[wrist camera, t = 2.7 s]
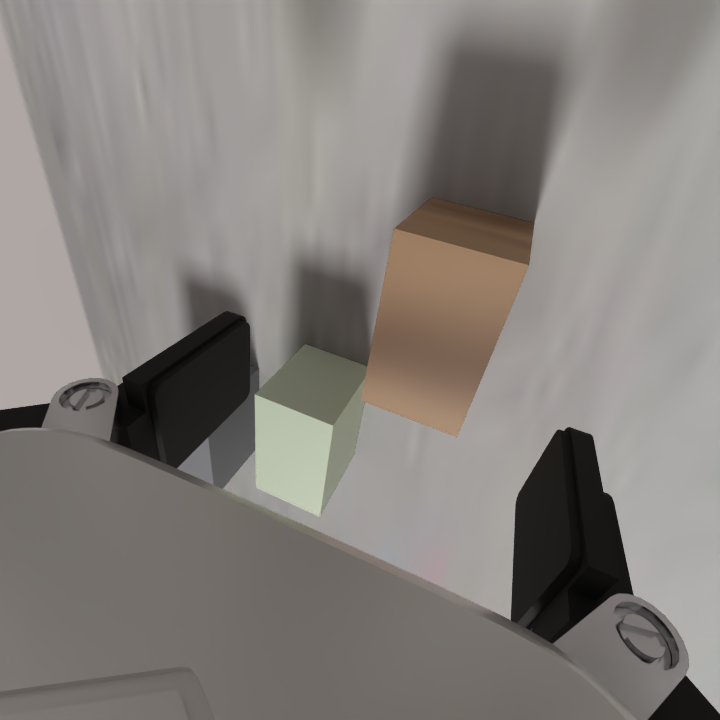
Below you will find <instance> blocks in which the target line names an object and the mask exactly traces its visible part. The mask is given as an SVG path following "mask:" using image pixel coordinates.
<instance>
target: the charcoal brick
mask: <svg viewBox="0 0 720 720" xmlns="http://www.w3.org/2000/svg"><path fill="white" fill-rule="evenodd" d="M258 391H259V368H256V367H254V366H251V365H250V392H249V395H248V397H247V399H246V400H245V401H244V402H243V403H242V404H241V405H240V406H239V407H238V408H237V409H236V410H235V411H234V412H233V413H232V414H231V415H230V416H229V417H228V418H227V419H226V420H225V421H224V422H223V423H222V424H221V425H220V426H219V427H218V428H217V429H216V430H215V431H214V432H213V433H212V434H211V435H210V436H209V437H208V438H207V439H206V440H205V441H204V442H203V443H202V444H201V445H200V446H199V447H198V448H197V449H196V450H195V451H194V452H193V453H192V454H191V455H190V456H189V457H188V458H187V459H186V460H185V461H184V462H183V463H182V464H181V465H180V466H179V467H178V468H177V469H179V470H181V471H183V472H185V473H188V474H190V475H192V476H195V477H197V478H199V479H201V480H204V481H206V482H208V483H211V484H213V485H215V486H217V487H220V488H222V489H223V488H224V486H225V485H226V484H227V483H228V482H229V480H230V479H231V478H232V477H233V476H234V475H235V473H236V472H237V471H238V470H239V469H240V467H241V466H242V465H243V464H244V463H245V461H246V460H247V459H248V458H249V457H250V455H251V454H252V453H253V452H254V451H255V394H256V393H257V392H258Z"/></svg>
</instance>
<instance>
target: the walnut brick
mask: <svg viewBox="0 0 720 720" xmlns="http://www.w3.org/2000/svg"><path fill="white" fill-rule="evenodd" d="M533 229H534V223H532V222H528V221H524V220H520V219H516V218H512V217H508V216H504V215H500V214H496V213H492V212H488V211H484V210H480V209H476V208H472V207H468V206H464V205H460V204H456V203H452V202H448V201H444V200H440V199H436V198H431V199H429V200H428V201H427V202H426V203H425V204H423V205H422V206H421V207H420V208H418V209H417V210H416V211H415V212H414V213H412V214H411V215H410V216H409V217H408V218H406V219H405V220H404V221H403V222H402V223H400V224H399V225H398V226H397V227H395V228H394V232H393V237H392V242H391V248H390V253H389V258H388V263H387V268H386V273H385V278H384V283H383V288H382V294H381V299H380V304H379V309H378V314H377V319H376V324H375V329H374V335H373V340H372V345H371V350H370V355H369V360H368V365H367V370H366V376H365V381H364V386H363V391H362V396H361V401H364V402H366V403H369V404H371V405H374V406H377V407H379V408H382V409H384V410H387V411H390V412H392V413H395V414H398V415H400V416H403V417H405V418H408V419H411V420H413V421H416V422H418V423H421V424H424V425H426V426H429V427H432V428H434V429H437V430H439V431H442V432H445V433H447V434H450V435H452V436H455V437H457V436H458V434H459V431H460V429H461V427H462V424H463V422H464V419H465V417H466V415H467V412H468V410H469V407H470V405H471V403H472V400H473V398H474V395H475V393H476V391H477V388H478V386H479V384H480V381H481V379H482V376H483V374H484V372H485V369H486V367H487V364H488V362H489V360H490V357H491V355H492V352H493V350H494V348H495V345H496V343H497V340H498V338H499V336H500V333H501V331H502V328H503V326H504V324H505V321H506V319H507V316H508V314H509V312H510V309H511V307H512V305H513V302H514V300H515V297H516V295H517V293H518V290H519V288H520V285H521V283H522V281H523V278H524V276H525V273H526V271H527V269H528V266H529V261H530V253H531V245H532V237H533Z"/></svg>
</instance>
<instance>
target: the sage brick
mask: <svg viewBox="0 0 720 720" xmlns="http://www.w3.org/2000/svg"><path fill="white" fill-rule="evenodd" d="M366 370H367V366H365V365H362V364H360V363H357V362H354V361H351V360H348V359H346V358H343V357H340V356H337V355H334V354H332V353H329V352H326V351H323V350H320V349H318V348H315V347H312V346H309V345H306V344H305V345H304V346H303V347H302V348H301V349H300V350H299V351H298V352H297V353H296V354H295V355H294V356H293V357H292V358H291V359H290V360H289V361H288V362H287V363H286V364H285V365H284V366H283V367H282V368H281V369H280V370H279V371H278V372H277V373H276V374H275V375H274V376H273V377H272V378H271V379H270V380H269V381H268V382H267V383H266V384H265V385H264V386H263V387H262V388H261V389H260V390H259V391H258V392H257V393H256V394H255V449H256V488H258V489H260V490H262V491H265V492H267V493H269V494H271V495H273V496H275V497H278V498H280V499H282V500H284V501H286V502H288V503H291V504H293V505H295V506H297V507H299V508H301V509H304V510H306V511H308V512H310V513H312V514H315V515H317V516H319V517H320V516H321V514H322V512H323V510H324V509H325V507H326V505H327V503H328V501H329V499H330V498H331V496H332V494H333V492H334V490H335V489H336V487H337V485H338V483H339V481H340V479H341V478H342V476H343V474H344V472H345V470H346V468H347V467H348V465H349V463H350V461H351V459H352V458H353V456H354V453H355V448H356V443H357V438H358V433H359V428H360V423H361V418H362V413H363V408H364V404H365V402H364V401H361V396H362V391H363V386H364V381H365V376H366Z"/></svg>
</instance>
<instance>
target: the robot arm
mask: <svg viewBox="0 0 720 720" xmlns="http://www.w3.org/2000/svg"><path fill="white" fill-rule="evenodd" d="M122 379H123V383H121V384H120V385H118V386H116V384H115V383H113V382H111V381H109V380H106V379H101V378H89V379H83V380H79V381H76V382H72V383H70V384H68V385H66V386H64V387H62V388H61V389H60V390H58V391H57V392H56V393H55V395H54V397H53V398H52V400H51V403H48V404H41V405H33V406H26V407H19V408H12V409H5V410H0V720H720V714H719V713H718V712H717V711H716V709H715V708H714V707H713V706H712V705H711V704H710V703H709V701H708V700H707V699H706V698H705V697H704V696H703V695H702V693H701V692H700V691H699V690H698V689H697V688H696V687H695V685H694V684H693V683H692V682H691V681H690V680H689V679H688V677H687V676H686V672H687V670H688V668H689V658H688V652H687V650H686V647H685V644H684V641H683V640H682V638H681V636H680V635H679V633H678V631H677V630H676V628H675V627H674V626H673V625H672V623H671V622H670V621H669V620H668V619H667V618H666V616H665V615H664V614H662V613H661V612H660V611H659V610H658V609H656V608H655V607H654V606H653V605H651V604H650V603H648V602H646V601H645V600H643V599H641V598H639V597H636V596H634V595H633V591H632V586H631V581H630V577H629V572H628V567H627V562H626V558H625V553H624V548H623V543H622V539H621V534H620V529H619V524H618V520H617V515H616V510H615V505H614V502H613V499H612V497H611V496H610V495H609V494H607V493H604V492H603V487H602V482H601V477H600V471H599V466H598V461H597V456H596V450H595V445H594V440H593V436H592V435H591V434H588V433H585V432H582V431H579V430H576V429H573V428H570V427H568V428H566V429H565V431H562V430H557V431H556V433H555V434H554V436H553V437H552V439H551V441H550V442H549V444H548V446H547V447H546V449H545V451H544V452H543V454H542V456H541V457H540V459H539V461H538V462H537V464H536V465H535V467H534V469H533V470H532V472H531V474H530V475H529V477H528V479H527V480H526V482H525V484H524V485H523V487H522V489H521V490H520V492H519V494H518V497H517V500H516V509H515V533H514V557H513V582H512V606H511V620H509V619H507V618H505V617H503V616H501V615H499V614H497V613H495V612H493V611H491V610H489V609H487V608H485V607H482V606H480V605H478V604H476V603H474V602H472V601H470V600H468V599H466V598H463V597H461V596H459V595H457V594H455V593H453V592H451V591H449V590H446V589H444V588H442V587H440V586H438V585H436V584H434V583H431V582H429V581H427V580H425V579H423V578H420V577H418V576H416V575H414V574H412V573H409V572H407V571H405V570H403V569H401V568H398V567H396V566H394V565H392V564H390V563H387V562H385V561H383V560H381V559H378V558H376V557H374V556H372V555H370V554H367V553H365V552H363V551H361V550H359V549H356V548H354V547H352V546H350V545H348V544H345V543H343V542H341V541H339V540H336V539H334V538H332V537H330V536H328V535H325V534H323V533H321V532H319V531H316V530H314V529H312V528H310V527H307V526H305V525H303V524H301V523H298V522H296V521H294V520H292V519H290V518H287V517H285V516H283V515H281V514H278V513H276V512H274V511H272V510H269V509H267V508H265V507H263V506H260V505H258V504H256V503H254V502H251V501H249V500H247V499H245V498H242V497H240V496H238V495H236V494H233V493H231V492H229V491H226V490H224V489H222V488H220V487H217V486H215V485H213V484H211V483H208V482H206V481H204V480H201V479H199V478H197V477H195V476H192V475H190V474H188V473H185V472H183V471H181V470H179V469H177V468H178V467H179V466H180V465H181V464H182V463H183V462H184V461H185V460H186V459H187V458H188V457H189V456H190V455H191V454H192V453H193V452H194V451H195V450H196V449H197V448H198V447H199V446H200V445H201V444H202V443H203V442H204V441H205V440H206V439H207V438H208V437H209V436H210V435H211V434H212V433H213V432H214V431H215V430H216V429H217V428H218V427H219V426H220V425H221V424H222V423H223V422H224V421H225V420H226V419H227V418H228V417H229V416H230V415H231V414H232V413H233V412H234V411H235V410H236V409H237V408H238V407H239V406H240V405H241V404H242V403H243V402H244V401H245V400H246V399H247V397H248V395H249V392H250V325H249V324H248V323H247V322H246V319H245V317H243V316H240V315H238V314H235V313H232V312H229V311H226V312H223V313H222V314H220V315H219V316H217V317H216V318H214V319H212V320H211V321H209V322H208V323H206V324H205V325H203V326H202V327H200V328H198V329H197V330H195V331H194V332H192V333H191V334H189V335H188V336H186V337H184V338H183V339H181V340H180V341H178V342H177V343H175V344H174V345H172V346H170V347H169V348H167V349H166V350H164V351H163V352H161V353H160V354H158V355H156V356H155V357H153V358H152V359H150V360H149V361H147V362H146V363H144V364H142V365H141V366H139V367H138V368H136V369H135V370H133V371H132V372H130V373H128V374H127V375H125V376H124V377H122Z"/></svg>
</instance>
